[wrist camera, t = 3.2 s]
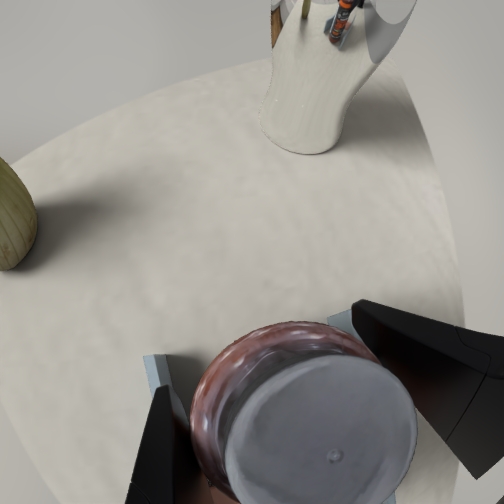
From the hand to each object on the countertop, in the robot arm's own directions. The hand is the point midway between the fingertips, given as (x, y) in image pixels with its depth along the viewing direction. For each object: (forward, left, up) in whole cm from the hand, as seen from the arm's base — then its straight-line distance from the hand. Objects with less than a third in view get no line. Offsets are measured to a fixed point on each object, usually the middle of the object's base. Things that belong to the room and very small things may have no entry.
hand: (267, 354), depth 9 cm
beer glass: (+14, -7, -7) cm, 18 cm away
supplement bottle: (-2, 0, -7) cm, 8 cm away
